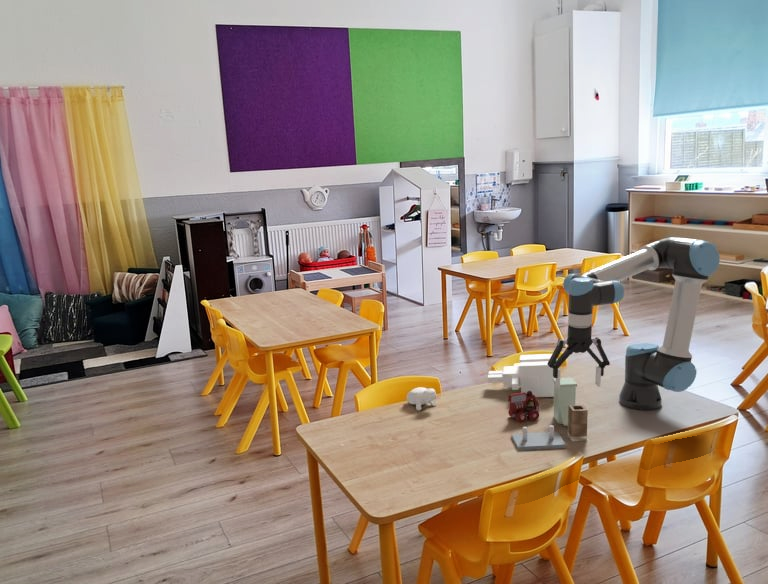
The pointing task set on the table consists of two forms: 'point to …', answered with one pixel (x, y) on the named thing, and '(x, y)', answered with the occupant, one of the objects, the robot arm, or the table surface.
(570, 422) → the sleeve
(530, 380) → the white voxel figure
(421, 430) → the table surface
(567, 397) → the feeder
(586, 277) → the robot arm
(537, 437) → the pinboard
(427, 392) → the white blocky animal toy
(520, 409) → the toy fire truck
